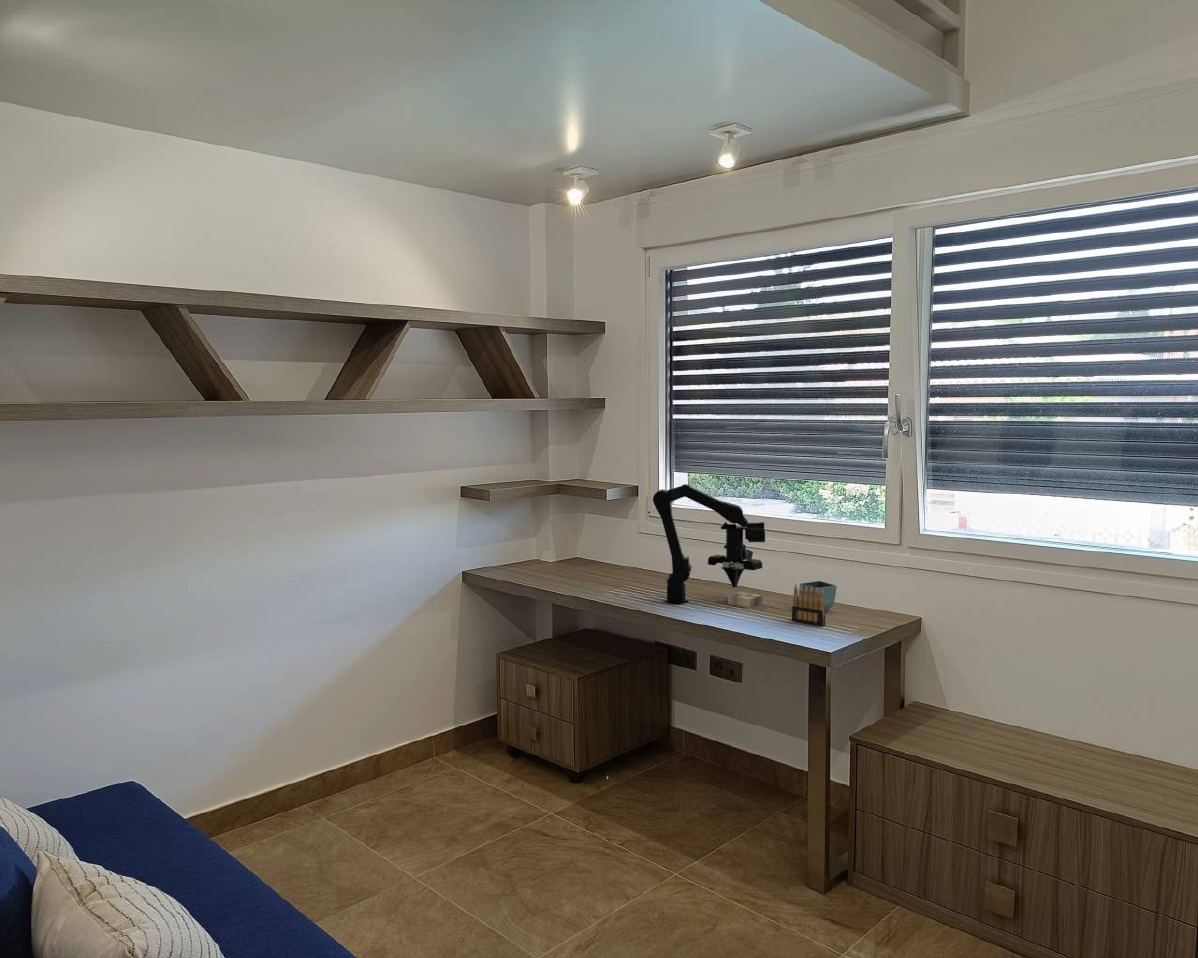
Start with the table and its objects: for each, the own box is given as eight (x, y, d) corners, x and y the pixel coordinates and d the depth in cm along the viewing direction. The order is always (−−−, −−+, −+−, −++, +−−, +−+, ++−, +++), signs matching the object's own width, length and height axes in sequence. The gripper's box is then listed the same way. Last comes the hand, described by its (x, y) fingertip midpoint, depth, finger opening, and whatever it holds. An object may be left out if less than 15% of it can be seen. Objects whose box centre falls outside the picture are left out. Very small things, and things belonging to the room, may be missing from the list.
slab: (728, 603, 312) (750, 607, 306) (728, 595, 312) (750, 598, 306) (739, 600, 317) (762, 604, 311) (739, 591, 317) (762, 595, 311)
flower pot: (816, 615, 296) (816, 588, 296) (798, 609, 304) (798, 583, 303) (837, 612, 300) (837, 585, 300) (819, 606, 308) (819, 580, 307)
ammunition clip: (791, 621, 288) (791, 584, 287) (794, 620, 290) (794, 583, 289) (822, 626, 282) (823, 588, 281) (825, 625, 283) (826, 587, 282)
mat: (761, 611, 303) (761, 610, 303) (716, 603, 315) (716, 602, 315) (774, 606, 309) (774, 605, 309) (729, 599, 321) (729, 598, 321)
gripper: (770, 541, 313) (770, 586, 314) (724, 536, 325) (725, 580, 326) (753, 545, 304) (753, 592, 306) (706, 540, 317) (707, 585, 318)
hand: (734, 587), depth 314 cm, fingers closed
